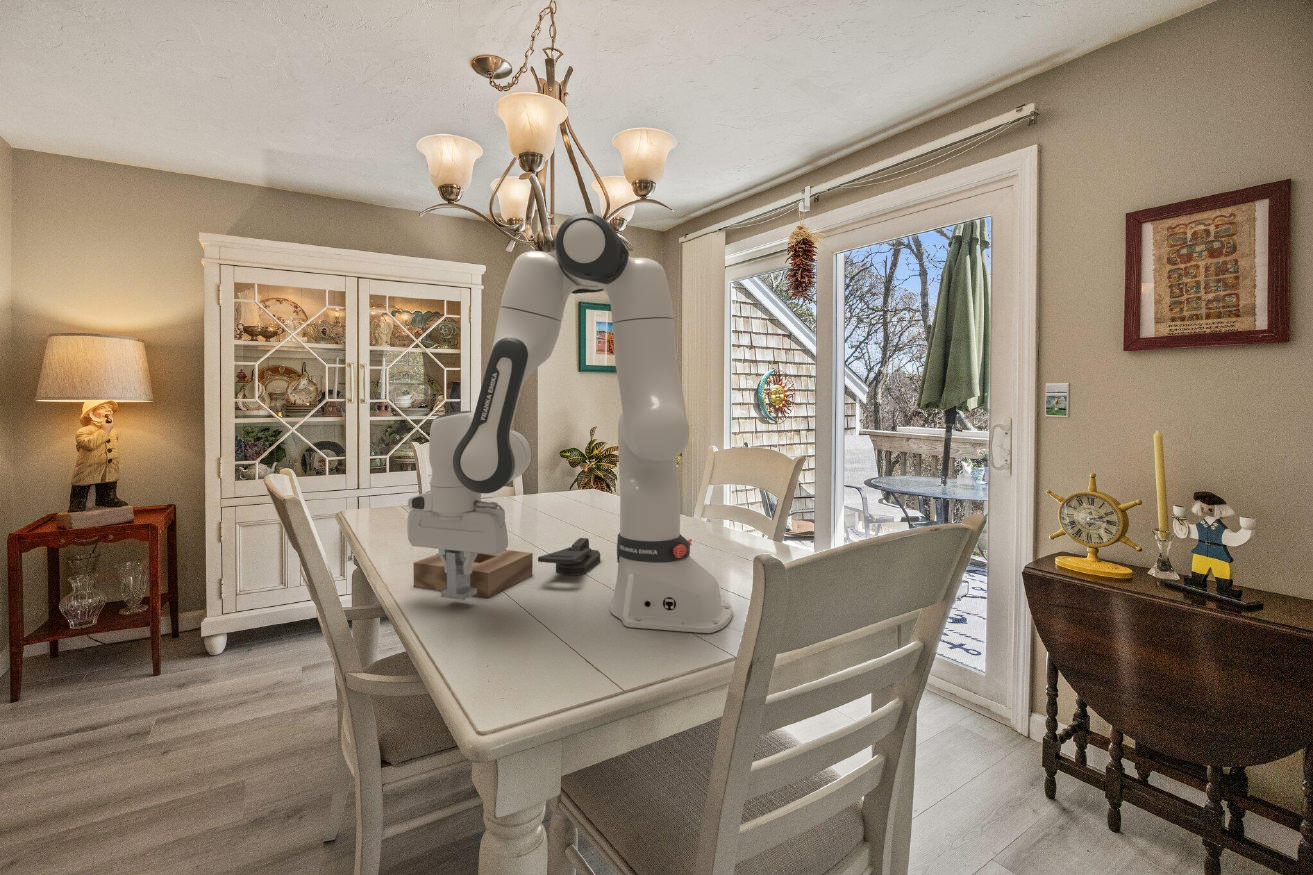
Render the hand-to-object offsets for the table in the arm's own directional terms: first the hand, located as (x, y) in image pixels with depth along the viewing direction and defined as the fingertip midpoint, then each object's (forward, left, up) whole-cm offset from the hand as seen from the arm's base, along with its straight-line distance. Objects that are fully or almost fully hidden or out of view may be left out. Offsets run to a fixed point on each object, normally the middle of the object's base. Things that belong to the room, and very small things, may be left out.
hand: (458, 573), depth 113 cm
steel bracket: (0, 0, -4) cm, 4 cm away
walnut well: (+7, -14, -6) cm, 16 cm away
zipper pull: (-9, -27, -7) cm, 29 cm away
